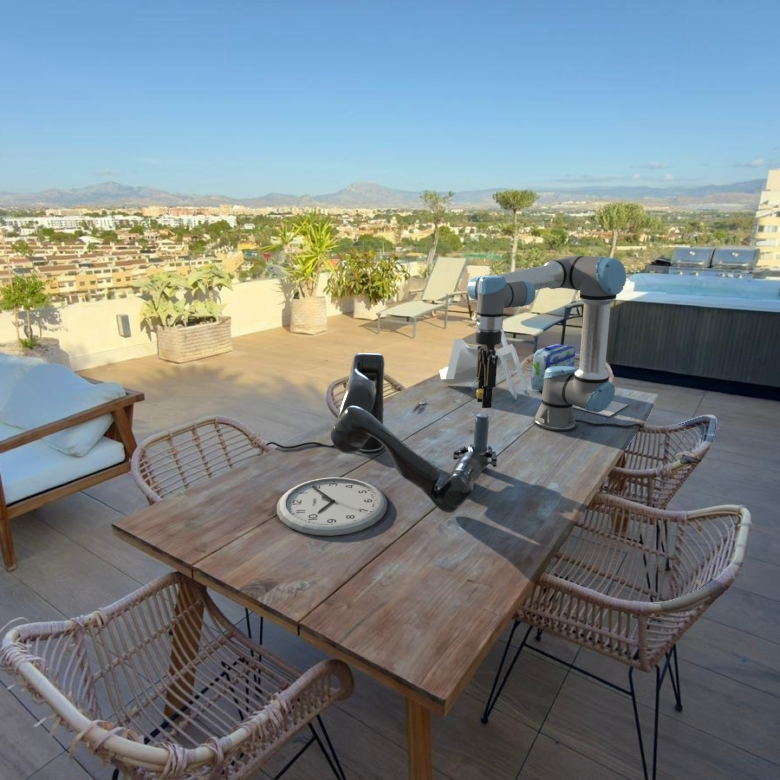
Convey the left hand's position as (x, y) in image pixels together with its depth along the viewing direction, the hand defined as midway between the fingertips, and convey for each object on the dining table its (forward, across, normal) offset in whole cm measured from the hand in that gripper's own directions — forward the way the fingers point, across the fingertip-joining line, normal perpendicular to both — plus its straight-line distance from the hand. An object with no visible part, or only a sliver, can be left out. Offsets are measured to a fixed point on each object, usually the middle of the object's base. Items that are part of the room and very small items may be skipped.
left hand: (481, 447), depth 167 cm
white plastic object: (+76, -18, -6) cm, 79 cm away
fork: (+45, -37, -6) cm, 59 cm away
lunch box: (+97, +12, -6) cm, 98 cm away
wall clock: (-42, -31, -6) cm, 53 cm away
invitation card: (+79, +34, -6) cm, 86 cm away
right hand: (-2, 0, +15) cm, 15 cm away
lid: (-3, 0, +19) cm, 19 cm away
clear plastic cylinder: (-3, 0, -6) cm, 7 cm away
